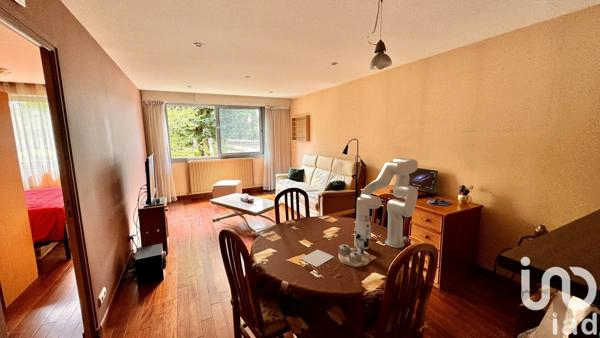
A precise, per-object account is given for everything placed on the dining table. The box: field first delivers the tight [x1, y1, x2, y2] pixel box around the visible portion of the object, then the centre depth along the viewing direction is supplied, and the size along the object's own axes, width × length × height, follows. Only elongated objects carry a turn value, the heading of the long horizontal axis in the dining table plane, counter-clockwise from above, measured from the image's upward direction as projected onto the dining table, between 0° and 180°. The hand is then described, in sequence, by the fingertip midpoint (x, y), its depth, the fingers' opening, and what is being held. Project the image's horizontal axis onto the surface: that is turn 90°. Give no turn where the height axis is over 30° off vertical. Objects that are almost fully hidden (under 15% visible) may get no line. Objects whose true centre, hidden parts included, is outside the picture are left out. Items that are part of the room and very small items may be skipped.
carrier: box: [338, 244, 371, 268], centre depth 147 cm, size 19×19×7 cm
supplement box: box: [353, 230, 370, 250], centre depth 161 cm, size 7×7×13 cm
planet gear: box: [356, 238, 367, 248], centre depth 149 cm, size 7×7×4 cm
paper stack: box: [299, 249, 335, 268], centre depth 142 cm, size 23×25×1 cm
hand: (362, 244), depth 149 cm, fingers closed on planet gear, 7 cm apart
